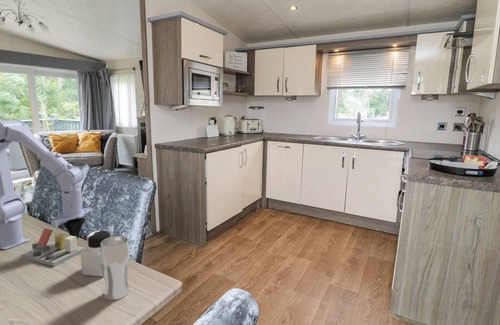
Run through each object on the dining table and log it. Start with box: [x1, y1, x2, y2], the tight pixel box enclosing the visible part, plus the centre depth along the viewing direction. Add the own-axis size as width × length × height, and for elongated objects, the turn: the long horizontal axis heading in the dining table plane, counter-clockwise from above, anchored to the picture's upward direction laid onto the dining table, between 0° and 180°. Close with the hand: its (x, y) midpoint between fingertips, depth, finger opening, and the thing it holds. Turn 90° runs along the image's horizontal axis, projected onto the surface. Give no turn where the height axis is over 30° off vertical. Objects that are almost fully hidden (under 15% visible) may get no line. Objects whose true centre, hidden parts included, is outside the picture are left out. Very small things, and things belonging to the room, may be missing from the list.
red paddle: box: [35, 228, 54, 250], centre depth 93 cm, size 4×1×7 cm, turn 72°
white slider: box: [65, 235, 78, 252], centre depth 91 cm, size 2×2×4 cm
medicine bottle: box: [80, 230, 111, 278], centre depth 83 cm, size 7×7×12 cm
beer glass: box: [100, 235, 131, 301], centre depth 72 cm, size 7×7×15 cm
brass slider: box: [54, 233, 68, 250], centre depth 93 cm, size 2×2×4 cm
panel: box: [22, 240, 86, 267], centre depth 92 cm, size 15×11×3 cm
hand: (74, 238), depth 98 cm, fingers closed
